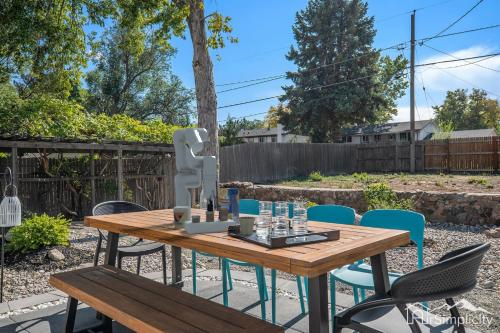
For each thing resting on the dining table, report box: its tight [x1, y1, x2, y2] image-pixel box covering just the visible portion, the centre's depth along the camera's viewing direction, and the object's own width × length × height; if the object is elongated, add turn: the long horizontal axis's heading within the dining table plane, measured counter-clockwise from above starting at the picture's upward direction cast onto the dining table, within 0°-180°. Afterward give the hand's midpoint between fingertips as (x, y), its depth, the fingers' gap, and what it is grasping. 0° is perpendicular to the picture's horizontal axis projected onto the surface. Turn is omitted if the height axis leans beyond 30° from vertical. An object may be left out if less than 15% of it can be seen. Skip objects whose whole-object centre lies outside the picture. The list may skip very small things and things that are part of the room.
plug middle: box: [205, 210, 216, 222], centre depth 215 cm, size 4×4×8 cm
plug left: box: [191, 214, 201, 223], centre depth 212 cm, size 4×4×8 cm
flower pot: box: [238, 216, 257, 236], centre depth 202 cm, size 9×9×9 cm
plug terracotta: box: [218, 206, 228, 221], centre depth 218 cm, size 4×4×8 cm
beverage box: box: [218, 187, 240, 225], centre depth 240 cm, size 7×11×22 cm, turn 52°
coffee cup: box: [172, 206, 189, 229], centre depth 228 cm, size 9×9×12 cm
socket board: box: [184, 219, 237, 235], centre depth 215 cm, size 12×26×5 cm, turn 112°
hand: (210, 211), depth 215 cm, fingers closed
